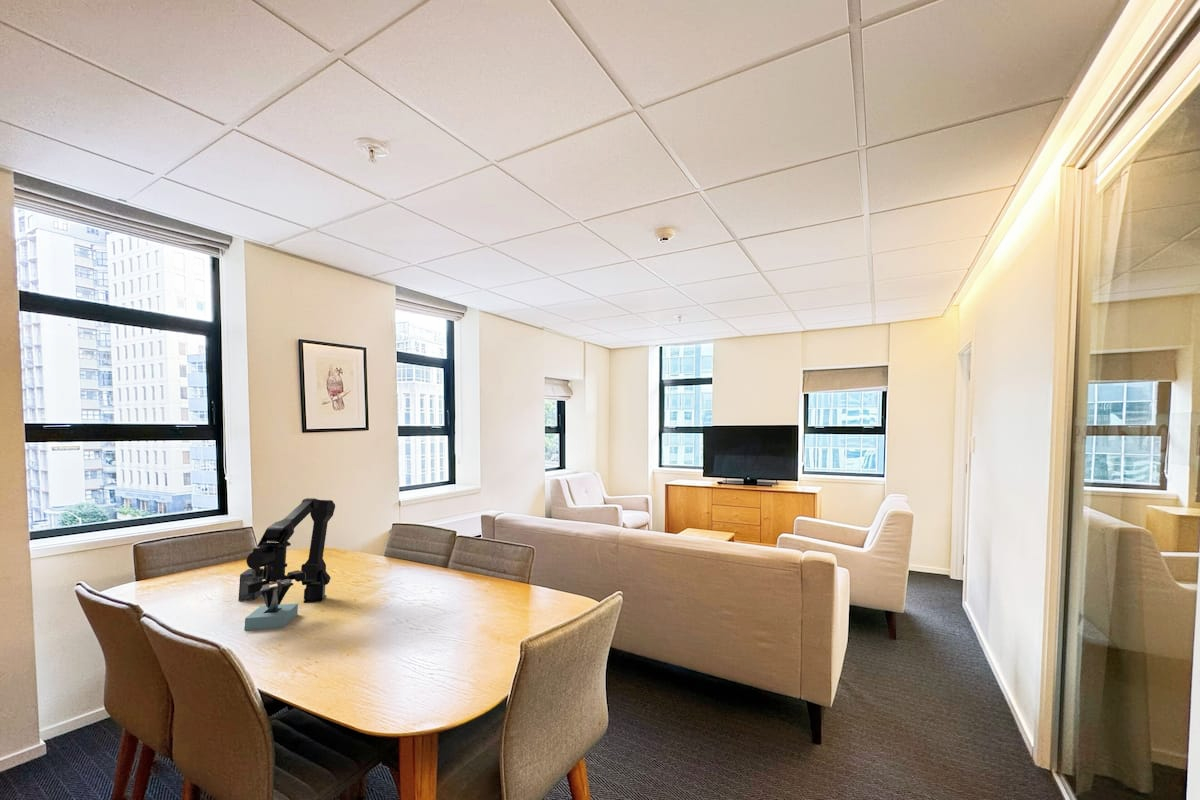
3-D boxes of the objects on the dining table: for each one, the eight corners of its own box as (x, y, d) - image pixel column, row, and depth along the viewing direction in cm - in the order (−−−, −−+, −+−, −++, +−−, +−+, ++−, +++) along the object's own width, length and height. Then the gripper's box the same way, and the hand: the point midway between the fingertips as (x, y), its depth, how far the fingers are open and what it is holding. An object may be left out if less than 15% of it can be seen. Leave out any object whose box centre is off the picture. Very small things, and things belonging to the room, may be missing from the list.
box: (246, 594, 194) (248, 568, 195) (262, 593, 195) (263, 567, 196) (237, 601, 186) (239, 574, 187) (254, 600, 188) (256, 573, 189)
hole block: (297, 614, 174) (298, 603, 174) (284, 627, 162) (285, 615, 163) (260, 617, 171) (261, 605, 171) (244, 630, 159) (245, 618, 160)
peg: (279, 614, 169) (280, 585, 169) (275, 617, 166) (277, 588, 166) (269, 614, 168) (271, 586, 169) (265, 618, 165) (267, 588, 166)
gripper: (292, 552, 180) (289, 594, 179) (235, 563, 164) (231, 609, 163) (308, 556, 175) (305, 600, 173) (250, 568, 159) (247, 616, 157)
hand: (273, 605), depth 167 cm, fingers closed on peg, 3 cm apart
